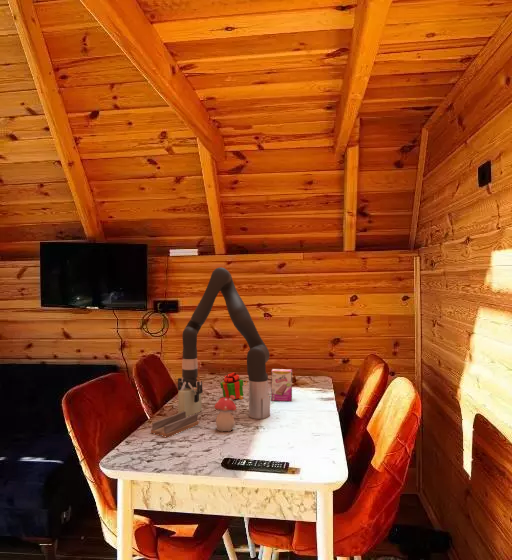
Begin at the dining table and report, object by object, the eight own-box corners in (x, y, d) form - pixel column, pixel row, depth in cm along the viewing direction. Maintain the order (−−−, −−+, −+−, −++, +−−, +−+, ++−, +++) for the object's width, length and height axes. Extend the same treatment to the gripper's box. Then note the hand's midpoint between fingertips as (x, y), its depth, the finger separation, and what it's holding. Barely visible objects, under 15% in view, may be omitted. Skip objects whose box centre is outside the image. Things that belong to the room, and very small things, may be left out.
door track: (198, 424, 186) (198, 414, 186) (167, 437, 170) (167, 426, 170) (182, 420, 191) (182, 410, 191) (150, 433, 176) (150, 422, 176)
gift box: (211, 401, 228) (208, 376, 228) (238, 392, 241) (234, 367, 240) (234, 407, 213) (230, 380, 213) (260, 396, 226) (257, 370, 225)
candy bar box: (271, 401, 222) (271, 370, 222) (271, 398, 227) (271, 368, 227) (292, 401, 221) (292, 371, 221) (292, 399, 226) (292, 369, 226)
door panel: (201, 411, 205) (201, 387, 206) (184, 417, 195) (184, 392, 196) (195, 409, 208) (195, 385, 208) (178, 416, 198) (178, 391, 198)
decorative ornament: (238, 428, 180) (238, 394, 180) (231, 433, 174) (231, 398, 174) (219, 425, 184) (219, 392, 184) (212, 430, 178) (212, 395, 178)
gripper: (206, 367, 201) (206, 401, 201) (184, 364, 209) (184, 396, 209) (195, 370, 195) (195, 405, 195) (173, 367, 203) (173, 400, 203)
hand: (189, 400), depth 202 cm, fingers open, 8 cm apart
